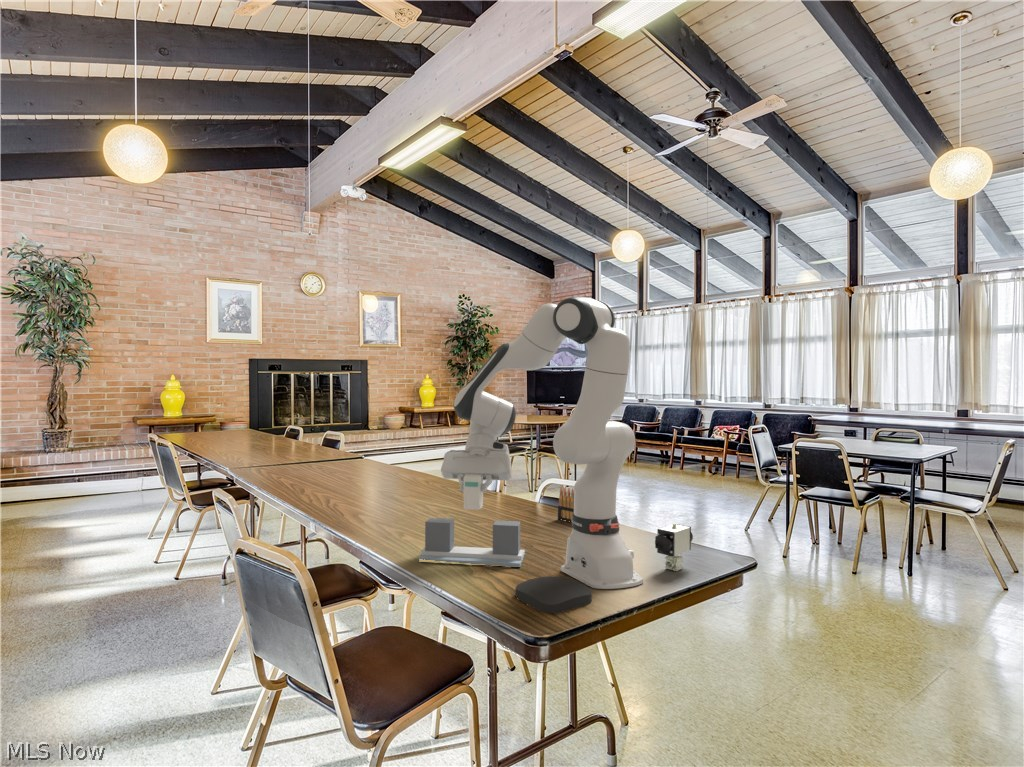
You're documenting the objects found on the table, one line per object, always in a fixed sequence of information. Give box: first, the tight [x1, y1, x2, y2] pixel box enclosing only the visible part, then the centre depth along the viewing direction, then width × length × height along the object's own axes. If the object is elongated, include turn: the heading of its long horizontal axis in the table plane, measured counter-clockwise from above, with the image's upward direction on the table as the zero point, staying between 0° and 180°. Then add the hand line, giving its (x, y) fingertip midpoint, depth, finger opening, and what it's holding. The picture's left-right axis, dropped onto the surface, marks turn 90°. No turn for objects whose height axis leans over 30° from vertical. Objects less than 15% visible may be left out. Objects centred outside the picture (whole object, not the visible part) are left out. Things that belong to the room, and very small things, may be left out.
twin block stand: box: [417, 517, 526, 568], centre depth 155 cm, size 12×28×10 cm, turn 82°
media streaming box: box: [514, 576, 593, 614], centre depth 127 cm, size 15×15×3 cm
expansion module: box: [463, 474, 484, 511], centre depth 155 cm, size 5×4×9 cm
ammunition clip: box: [557, 486, 574, 523], centre depth 197 cm, size 11×2×12 cm, turn 45°
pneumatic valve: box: [654, 523, 694, 572], centre depth 148 cm, size 6×12×12 cm, turn 133°
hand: (473, 490), depth 154 cm, fingers closed on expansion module, 4 cm apart
